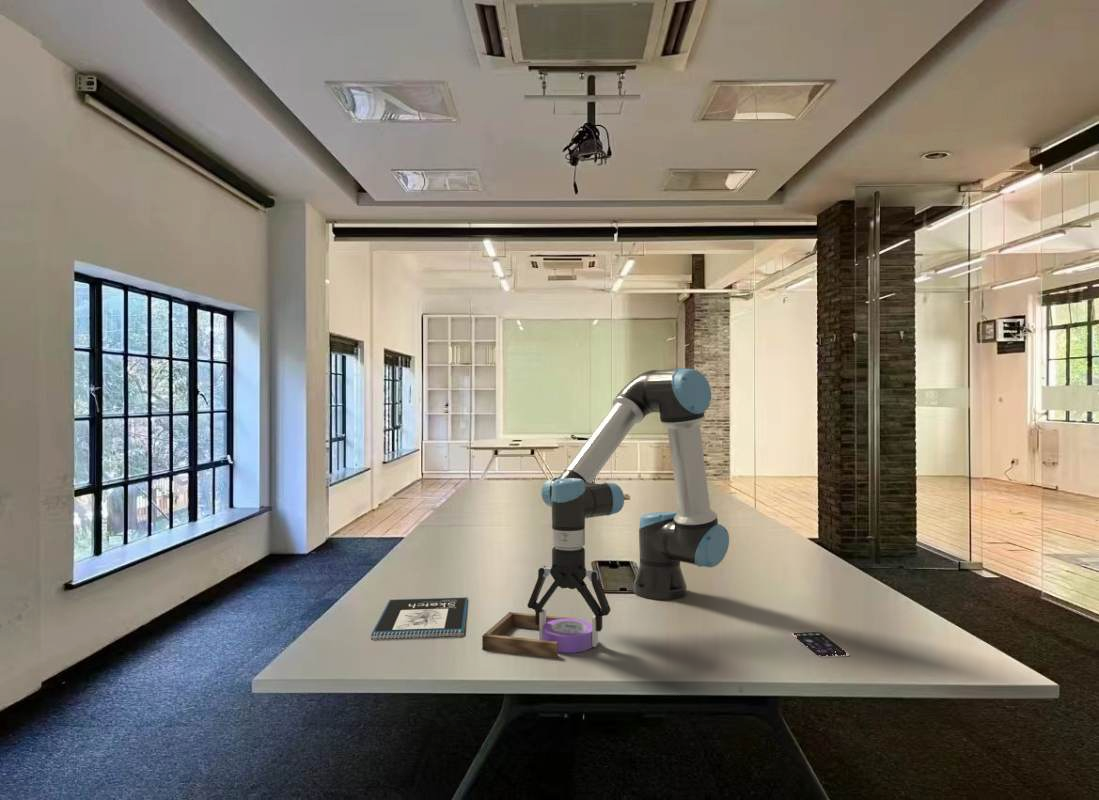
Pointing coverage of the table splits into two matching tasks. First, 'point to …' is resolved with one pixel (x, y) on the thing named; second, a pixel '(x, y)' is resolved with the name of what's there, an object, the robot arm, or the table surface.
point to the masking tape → (569, 634)
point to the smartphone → (819, 644)
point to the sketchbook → (422, 618)
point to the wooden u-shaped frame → (519, 645)
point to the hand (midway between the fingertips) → (568, 642)
